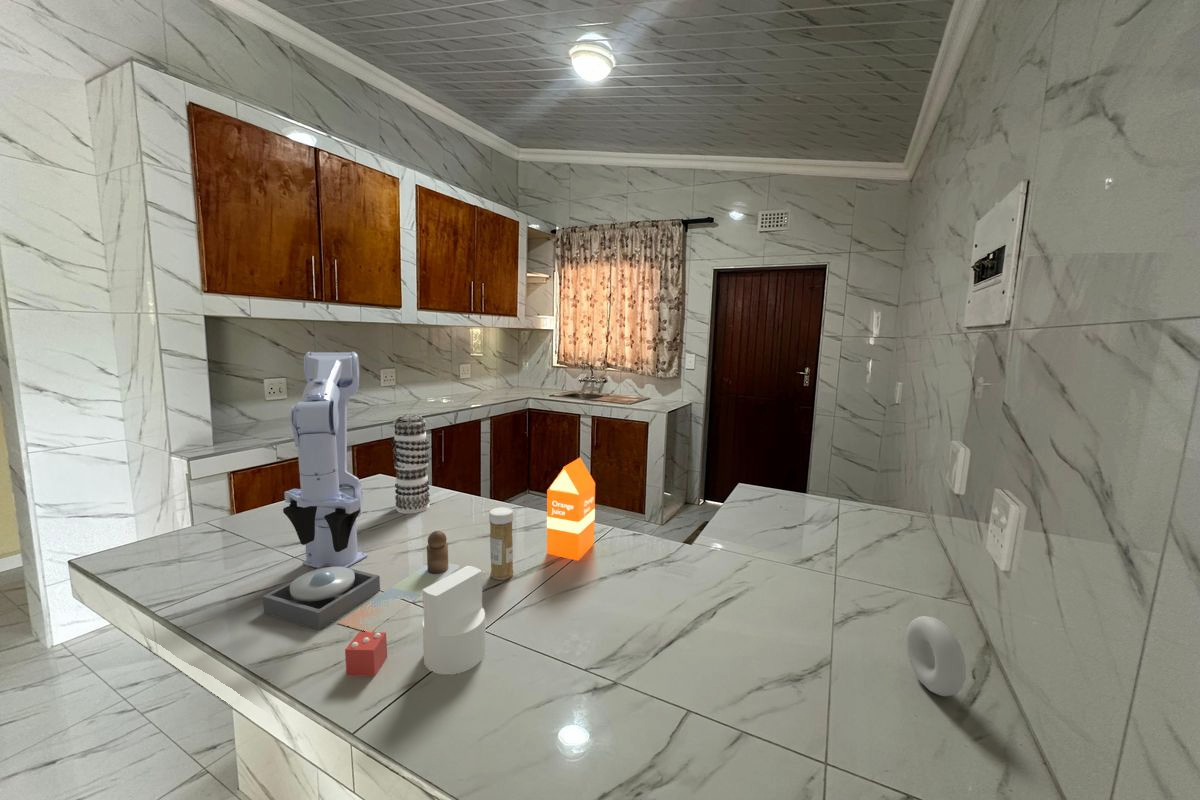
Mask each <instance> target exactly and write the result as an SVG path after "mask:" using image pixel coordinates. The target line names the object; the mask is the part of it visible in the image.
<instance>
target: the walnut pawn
mask: <svg viewBox="0 0 1200 800" xmlns="http://www.w3.org/2000/svg"><path fill="white" fill-rule="evenodd" d="M447 540H448V539H447V536H446V534H445V532H443V531H442V530H435V531H433V532H431V533H430V534H429V535H428V538H427V545H426V561H427V563H426V564H427V568H428V572H429V573H431V574H440V573H444V572H446V571H447V570H448V563H449V546H448V545H449V544H448V542H447Z"/></svg>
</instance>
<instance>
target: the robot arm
mask: <svg viewBox="0 0 1200 800" xmlns="http://www.w3.org/2000/svg"><path fill="white" fill-rule="evenodd" d="M359 360H360V359H359V355H358V353H356V351H351V352H338V351H337V352H335V351H334V352H329V351H328V352H320V351H319V352H314V351H313V352H312V351H308V352H306V353H305V354H304V357H303V374H304V377H305V379H306V385H305V387H304V389H303V392H302V396H301V398H300V401H298V402H297V405H296V404H294V405H293V404H292V407H291V411H290V427H291V431H292V434H293V438H294V446H295V448H297V453H298V454H297V455H298V456H297V457H298V469H299V471H298V472H299V483H300V484H299V485H300V488H292V489H290V490H286V491H284V502H285V503H287V504H289V505H288V506H286V507H284V508H283V509H282V512H283V514H284V515H285V516H286V517H287V518H288V520H289V521H290V522H291V525H292V526H293V528H294V529H295V532H296V535H297V537H298V539H299V542H300V544H301V545H303V546H305V556H306V557H305V558H306V559H305V560H303V561H302V564H303V565H305V566H308V567H313V568H315V569H317V568H319V567H321V566H323V565H325V564H327V563H330V564H334V565H338V566H342V567H346V568H350V566H353V565H354V564H356V563H358V562H359V561H361V560H364V559H365V558H367V557H368V556H369V555H368V553H366V552H362V551H358V550H359V549H358V537H357V536H358V535H357V534H358V532H357V518H360V516H361V515H362V514H363V508H364V507H363V490H362V482H361V481H360V479H359V477H357V476H356V475H354V474H352V473H351V472H349V471H348V452H347V451H348V445H347V443H348V440H347V439H348V421H347V420H348V417H347V416H348V413H347V411H348V405H349V403H350V402H349V401H350V398H351V397H352V396H355V395H356V394H358V393H359V390H358V389H359V388H360V361H359Z"/></svg>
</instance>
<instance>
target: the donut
mask: <svg viewBox="0 0 1200 800" xmlns="http://www.w3.org/2000/svg"><path fill="white" fill-rule="evenodd" d="M905 647H906V652H907V656H908V659H909V663H910V666H911V668H912V670H913V672H914V674H915V676H916V677H917V678H918V680H919V681H920V683H921V684H922V685H923V686H924V687H925V688H926V689H928V690H929V691H930V692H931V693H934V694H936V695H937V696H941V697H951V696H956V695H957V694H958V693H960V692H961V690H962V689H963V687H964V686H965V685H964V684H965V682H966V677H967V665H966V660H965V655H964V652H963V650H962V647H961V644H960V642H959V640H958V639H957V637H956V635H955V634H954V632H952V630H951V629H950V628H949V626H947V625H946V624H945V623H944V622H942V621H941V620H940V619H938V618H935V617H934V616H933V617H932V616H927V615H921V616H917V617H916V618H914V619H912V621H911V622H910V624H908V627H907V629H906V633H905Z"/></svg>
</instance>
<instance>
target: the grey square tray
mask: <svg viewBox="0 0 1200 800" xmlns="http://www.w3.org/2000/svg"><path fill="white" fill-rule="evenodd" d="M326 567H342V566H338V565H334V564H330V563H327V564H325V565H323V566H321V567H319V568H314V570H317V569H321V568H326ZM348 568H349V569H351V570H353V571H354V573H355V582H354V584H353V585H352V586H351V587H353V586H354V587H353V588H352V589H350V590H349V591H347V592H346V593H345V592H344V593H343V594H342V595H340V596H339V597H337V598H335V599H334V600H332V601H331V602H328V603H327V604H325V605H324V606H322V607H321V608H316V607H313V606H309V605H306V604H302V603H299V602H296V601H292V600H295V599H294V598H292V597H291V595H290V585H291V583H292V582H293V581H294V580H295V579H294V580H293V579H292V580H291V581H289V582H288V583H286V584H283V585H281V586H280V587H277V588H275V589H274V590H272V591H270V592H268V593H266V594H264V595H263V596H262V597H261V599H262V608H263V614H267V615H270V616H273V617H276V618H279V619H282V620H285V621H289V622H293V623H296V624H299V625H301V626H305V627H308V628H312V629H314V630H318V631H321V630H322V629H324V628H326V627H327V626H329V625H330V624H331V622H332V621H333V622H335V621H337V619H339V618H341V617H342V616H344V615H345V614H347V613H349V612H350V611H352V610H353V609H354V608H356V607H358V606H359V605H360V604H362V603H363V601H364V602H365V601H367V600H368V599H370V598H372V597H373V596H374V595H376V594H378V593H379V592H380V591H381V582H380V581H381V580H380V579H381V578H380V575H378V574H374V573H369V572H367V571H361V570H358V569H353V568H350V567H348ZM369 597H370V598H369ZM366 599H367V600H366ZM358 604H359V605H358ZM355 606H356V607H355ZM352 608H353V609H352ZM346 612H347V613H346ZM334 620H335V621H334ZM333 622H332V623H333ZM323 627H324V628H323Z"/></svg>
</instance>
